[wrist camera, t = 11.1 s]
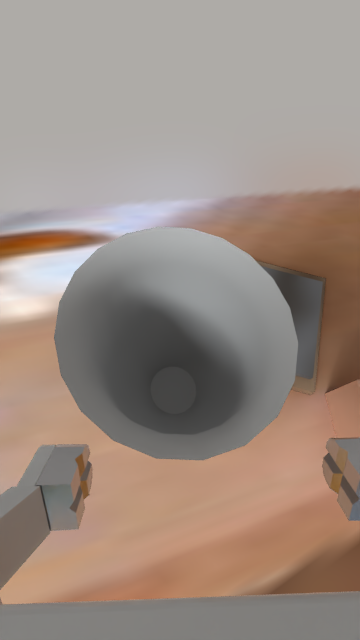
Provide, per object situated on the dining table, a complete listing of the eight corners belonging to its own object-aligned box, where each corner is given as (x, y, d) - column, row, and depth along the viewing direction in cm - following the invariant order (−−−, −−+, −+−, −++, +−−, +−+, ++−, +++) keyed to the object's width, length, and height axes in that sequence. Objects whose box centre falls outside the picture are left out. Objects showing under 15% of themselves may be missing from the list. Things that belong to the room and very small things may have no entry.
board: (96, 331, 28) (92, 324, 26) (140, 237, 33) (139, 226, 31) (309, 394, 26) (318, 391, 24) (321, 283, 31) (328, 275, 29)
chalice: (117, 393, 25) (24, 270, 9) (187, 358, 27) (214, 201, 11) (154, 479, 23) (113, 523, 6) (229, 435, 24) (352, 381, 8)
